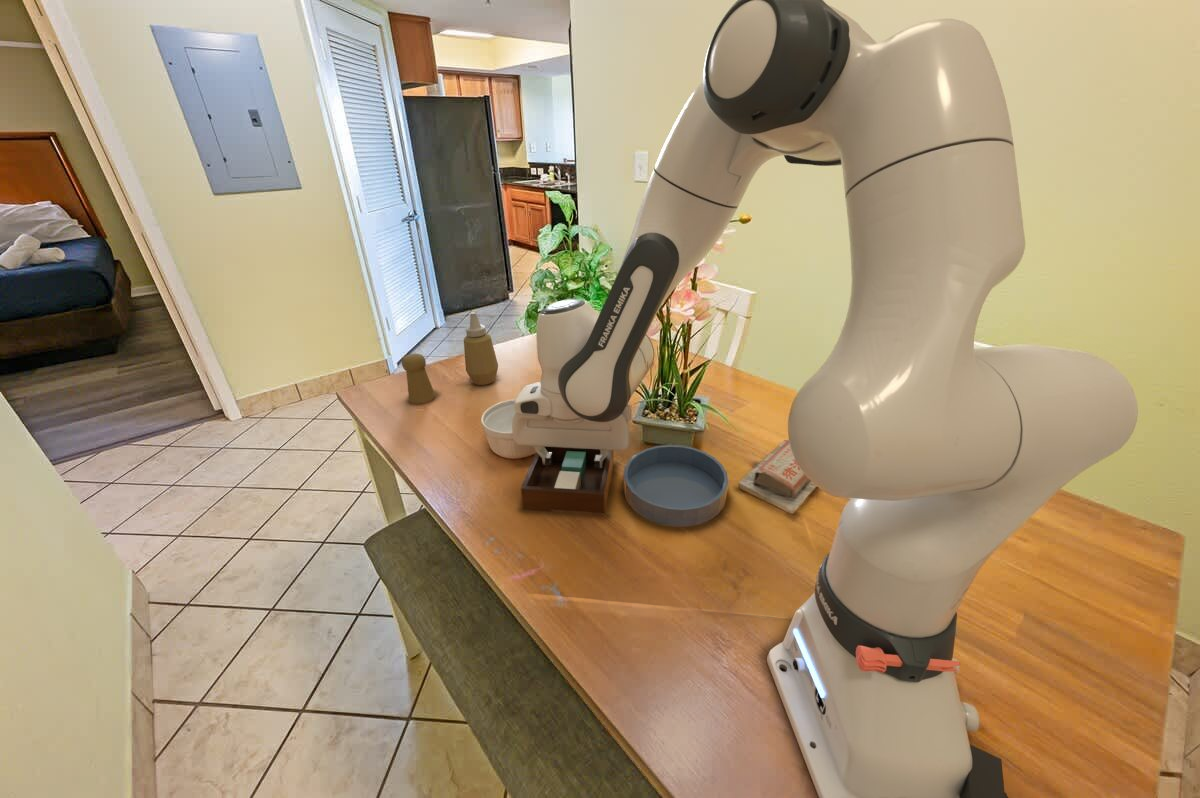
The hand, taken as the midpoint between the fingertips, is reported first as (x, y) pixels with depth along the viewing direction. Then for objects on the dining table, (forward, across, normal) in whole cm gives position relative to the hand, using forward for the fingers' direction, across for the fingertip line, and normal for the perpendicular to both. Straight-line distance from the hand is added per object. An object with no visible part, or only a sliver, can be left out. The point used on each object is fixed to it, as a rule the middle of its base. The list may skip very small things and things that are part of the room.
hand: (573, 464), depth 85 cm
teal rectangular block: (+2, 0, 0) cm, 2 cm away
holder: (+2, 0, +3) cm, 4 cm away
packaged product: (+3, -38, -3) cm, 38 cm away
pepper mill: (+3, +42, -26) cm, 50 cm away
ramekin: (+3, +13, -9) cm, 16 cm away
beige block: (+2, 0, +6) cm, 6 cm away
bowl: (+2, -18, +3) cm, 18 cm away
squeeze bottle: (+3, +30, -36) cm, 47 cm away
